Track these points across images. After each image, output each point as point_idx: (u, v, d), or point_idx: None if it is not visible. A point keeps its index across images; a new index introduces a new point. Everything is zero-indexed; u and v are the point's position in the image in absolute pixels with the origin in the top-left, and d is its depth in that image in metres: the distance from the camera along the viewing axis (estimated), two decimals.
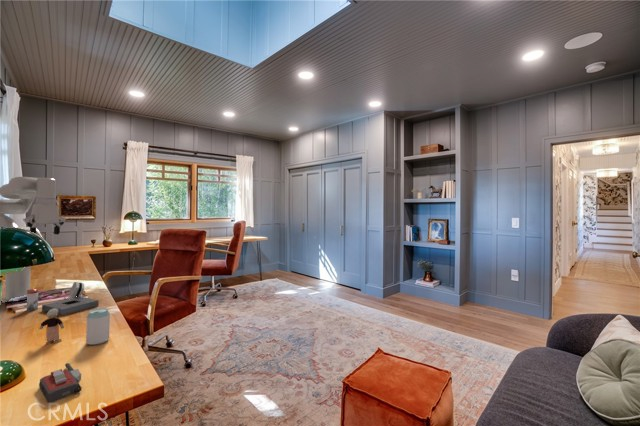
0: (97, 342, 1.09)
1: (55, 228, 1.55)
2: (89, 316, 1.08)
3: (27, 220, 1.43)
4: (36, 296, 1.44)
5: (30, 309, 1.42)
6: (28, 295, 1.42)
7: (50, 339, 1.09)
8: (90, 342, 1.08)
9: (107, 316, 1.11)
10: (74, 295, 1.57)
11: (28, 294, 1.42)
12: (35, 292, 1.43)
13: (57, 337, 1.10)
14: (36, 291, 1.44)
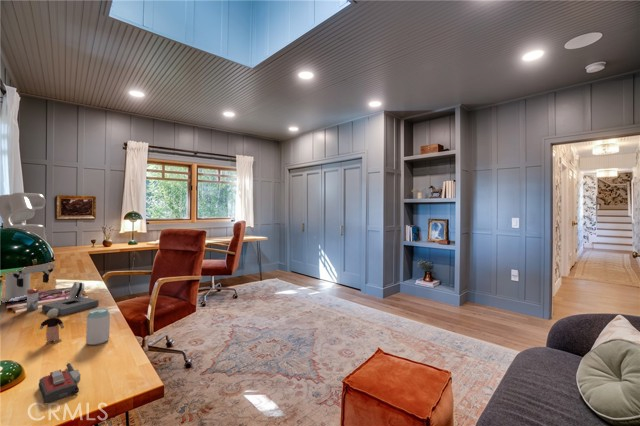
0: (97, 342, 1.09)
1: (44, 276, 1.48)
2: (89, 316, 1.08)
3: None
4: (36, 296, 1.44)
5: (30, 309, 1.42)
6: (28, 295, 1.42)
7: (50, 339, 1.09)
8: (90, 342, 1.08)
9: (106, 316, 1.11)
10: (74, 295, 1.57)
11: (28, 294, 1.42)
12: (35, 292, 1.43)
13: (57, 337, 1.10)
14: (36, 291, 1.44)
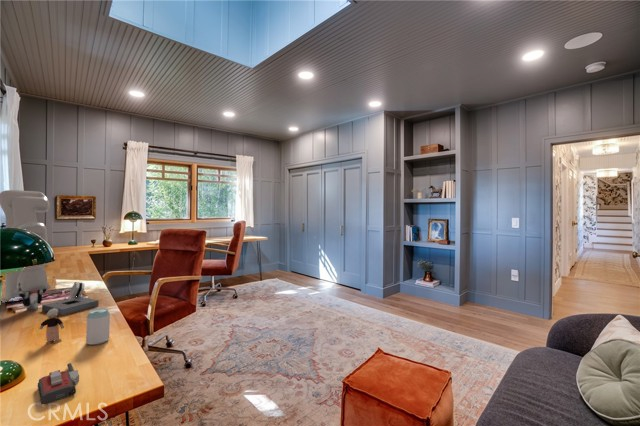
0: (97, 342, 1.09)
1: None
2: (89, 316, 1.08)
3: (18, 293, 1.38)
4: (36, 296, 1.44)
5: (30, 309, 1.42)
6: (28, 295, 1.42)
7: (50, 339, 1.09)
8: (90, 342, 1.08)
9: (106, 316, 1.11)
10: (74, 295, 1.57)
11: None
12: (35, 292, 1.43)
13: (57, 337, 1.10)
14: (36, 291, 1.44)
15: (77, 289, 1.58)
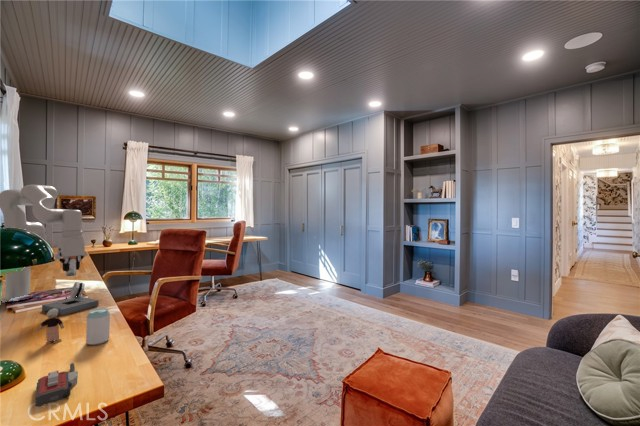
0: (97, 342, 1.09)
1: None
2: (89, 316, 1.08)
3: (58, 257, 1.42)
4: (75, 262, 1.47)
5: (69, 274, 1.45)
6: None
7: (50, 339, 1.09)
8: (90, 342, 1.08)
9: (106, 316, 1.11)
10: (74, 295, 1.57)
11: None
12: (74, 258, 1.47)
13: (57, 337, 1.10)
14: (75, 257, 1.47)
15: (77, 289, 1.58)
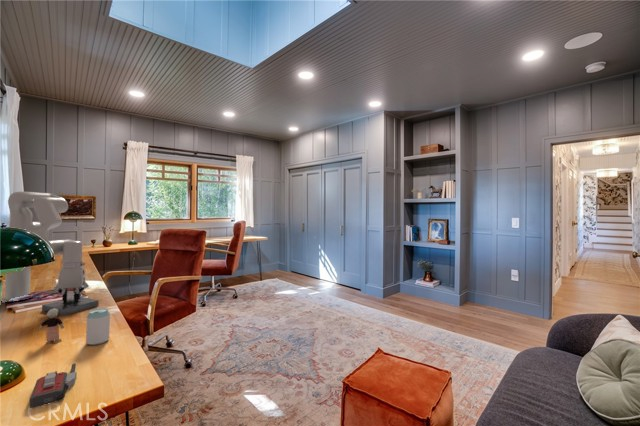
0: (97, 342, 1.09)
1: None
2: (89, 316, 1.08)
3: (56, 288, 1.44)
4: (71, 294, 1.46)
5: None
6: (66, 291, 1.46)
7: (50, 339, 1.09)
8: (90, 342, 1.08)
9: (106, 316, 1.11)
10: None
11: (66, 291, 1.46)
12: (70, 290, 1.46)
13: (57, 337, 1.10)
14: (71, 289, 1.46)
15: None
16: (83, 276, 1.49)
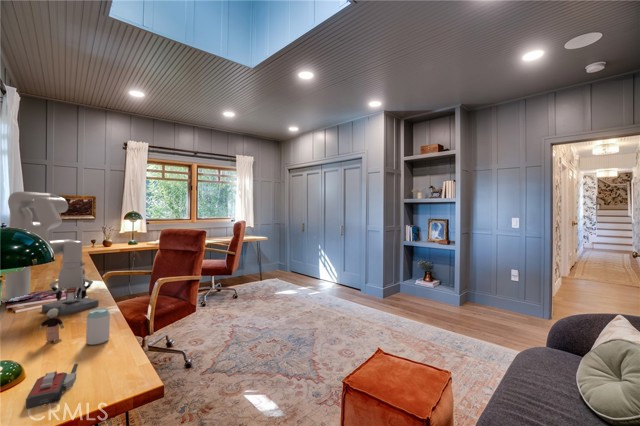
0: (97, 342, 1.09)
1: None
2: (89, 316, 1.08)
3: (52, 285, 1.44)
4: (71, 296, 1.46)
5: None
6: (66, 293, 1.46)
7: (50, 339, 1.09)
8: (90, 342, 1.08)
9: (106, 316, 1.11)
10: None
11: (66, 292, 1.46)
12: (70, 292, 1.45)
13: (57, 337, 1.10)
14: (71, 291, 1.46)
15: (77, 289, 1.58)
16: (83, 276, 1.49)
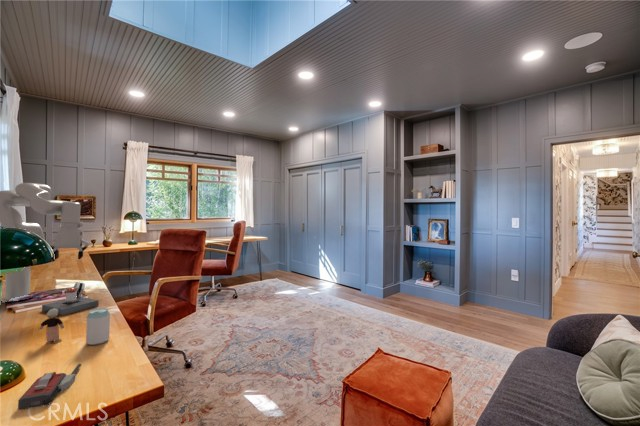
0: (97, 342, 1.09)
1: None
2: (89, 316, 1.08)
3: (49, 244, 1.46)
4: (71, 296, 1.46)
5: None
6: (66, 293, 1.46)
7: (50, 339, 1.09)
8: (90, 342, 1.08)
9: (106, 316, 1.11)
10: None
11: (66, 292, 1.46)
12: (70, 292, 1.45)
13: (57, 337, 1.10)
14: (71, 291, 1.46)
15: (77, 289, 1.58)
16: (80, 237, 1.51)
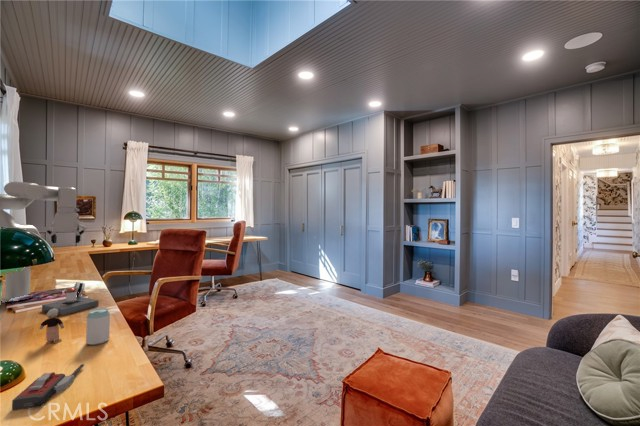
0: (97, 342, 1.09)
1: None
2: (89, 316, 1.08)
3: (47, 228, 1.50)
4: (71, 296, 1.46)
5: None
6: (66, 293, 1.46)
7: (50, 339, 1.09)
8: (90, 342, 1.08)
9: (106, 316, 1.11)
10: None
11: (66, 292, 1.46)
12: (70, 291, 1.45)
13: (57, 337, 1.10)
14: (71, 291, 1.46)
15: (77, 289, 1.58)
16: (77, 221, 1.55)
